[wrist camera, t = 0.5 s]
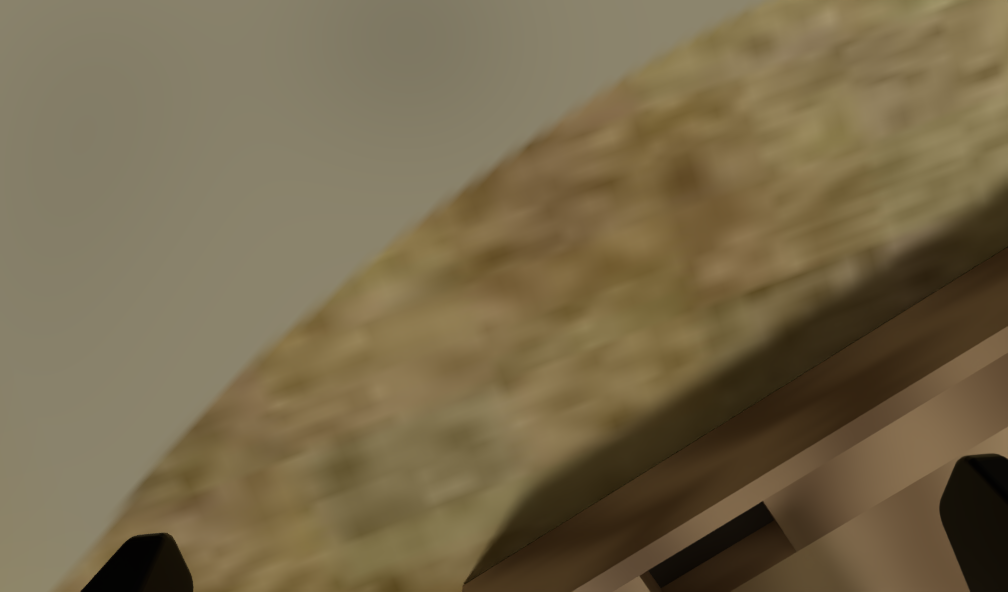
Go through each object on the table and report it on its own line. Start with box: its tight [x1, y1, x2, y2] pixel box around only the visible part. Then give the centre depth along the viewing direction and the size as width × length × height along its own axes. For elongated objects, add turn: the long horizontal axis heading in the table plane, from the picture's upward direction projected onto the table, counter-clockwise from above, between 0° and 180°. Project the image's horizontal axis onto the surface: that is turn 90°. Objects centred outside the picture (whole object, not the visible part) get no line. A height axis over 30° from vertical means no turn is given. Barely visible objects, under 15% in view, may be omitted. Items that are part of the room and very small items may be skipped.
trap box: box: [462, 247, 1008, 592], centre depth 22 cm, size 24×11×4 cm, turn 124°
